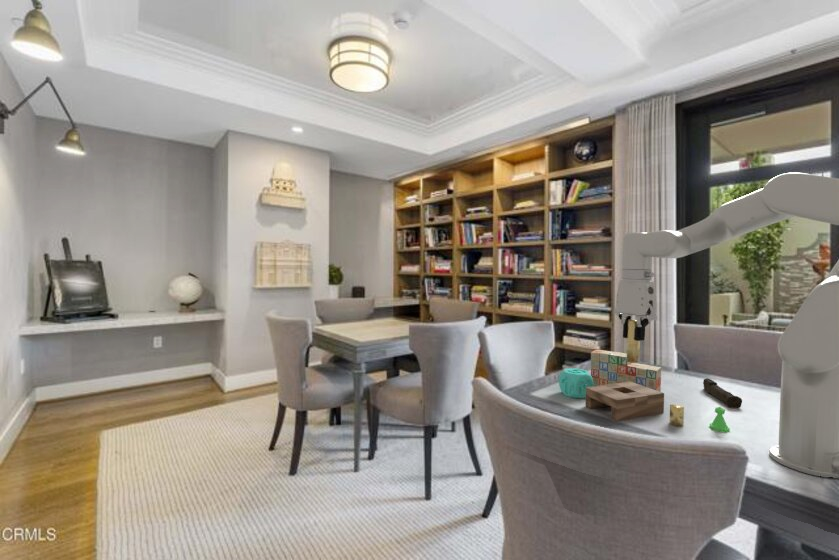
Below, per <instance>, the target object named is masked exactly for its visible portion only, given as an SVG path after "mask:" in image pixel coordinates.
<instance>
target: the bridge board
mask: <svg viewBox="0 0 839 560" xmlns="http://www.w3.org/2000/svg"><path fill="white" fill-rule="evenodd" d="M585 407H586V408H587V409H590V410H591V409H597V408H603V407H611V408H610V409H611V410H610V411H611V414H610V419H611V418H612V419H611V420H613V419H614V421H615V420H616V421H615V422H620V421H619V420H621V421H626V420H631V419H636V418H638V419H639V418H643V417H647V416H648V417H649V416H654V415H659V414H664V413H665V392H662V391H661V392H660V391H657V390H654V389H651V388H648V387H645V386H642V385H639V384H636V383H633V382H622V383H615V384H607V385H600V386H597V385H594V386H592V387H586V398H585Z"/></svg>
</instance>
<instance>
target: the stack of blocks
mask: <svg viewBox="0 0 839 560" xmlns="http://www.w3.org/2000/svg"><path fill="white" fill-rule="evenodd" d="M626 357H627V352H626V353H625V352H621V351H620V352H619V351H611V350H610V351H609V350H604V349H603V350H602V349H595V350H593V351H591V352H590V375H591V377H592V379H593V382H594V386H600V385H607V384H615V383H622V382H633V383H636V384H639V385H642V386H645V387H648V388H651V389H654V390H657V391H660V392H662V391H661V390H662V388H661V385H662V383H661V382H662V367H661V366H655V365H650V364H649V365H648V364H642V363H631V362H627V361H626Z"/></svg>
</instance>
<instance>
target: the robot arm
mask: <svg viewBox="0 0 839 560" xmlns="http://www.w3.org/2000/svg"><path fill="white" fill-rule="evenodd" d="M794 217H797V218H798V217H799V218H801V219H808V220H812V221H816V222H821V223H826V224H831V225H835V226H839V178H836V177H829V176H822V175H816V174H811V173H810V174H809V173H804V172H787V173H782V174H779V175H777V176H775V177H773V178H771V179H770V180H768V181H767V183H766V184H765V185H764V186H763V188H760V189H758V190H755V191H753V192H751V193H749V194H746V195H743V196H741V197H739V198H736V199H734V200H731V201H729V202H726V203H724V204H722V205H720V206H718V207H716V209H714V211H713V212H712V213H711V214H710V215H708V216H706V218H704V219H702V220H699V221H698V222H696V223H693V224H691V225H688V226H686V227H682V228H680V229H677V230H669V229H664V230H663V229H662V230H657V231H649V232H646V231H645V232H644V231H640V232H639V231H638V232H636V231H634V232H627V233H624V235H623V237H622V247H621V249H622V251H621V253H622V254H621V271H620V272H621V274H620V276H621V277H620V278H621V279H619V282H618V286H617V292H616V299H615V302H616V303H615V306H616V307H615V309H614V311H613V314H615V316H617V317H618V318H619V320H620V323H621V324H622V327H623V328H622V329H623V330H622V338H623V339H627V332H628V320H633V316H635V317H636V319H635V320H637V327H635V337H634V339H635V341H641V342H642V341H645V337H646V327H648V325H649V324H650V323H651V322H654V321H656V320H657V319H658V315H657V310H658V309H657V292H656V291H657V290H656V285H655V281H653V280H652V278H654V277H655V273H654V272H653V271H652V269H653V267H652V266H653V258H657V259H679V258H683V257H686V256H688V255H689V256H690V255H691V254H692V255H693V254H695V253H698V252H701V251H703V250H706V249H709V248H711V247H714V246H716V245H719V244H722V243H725V242H728V241H731V240H733V239H735V238H737V237H740V236H742V235H746V234H748V233H751V232H754V231H757V230H759V229H763V228H766V227H768V226H771V225H773V224H776V223H779V222H783V221H785V220H788V219H791V218H794ZM777 351H778V354H779V356H780V358H781V360H782V361H781V376H780V377H781V378H780V380H781V381H780V395H779V396H780V397H779V423H778V426H779V427H778V445H773V446H771V447H769V449H768V452H769V456H770V458H772V459H773V460H774V461H776V462H778V463H779V464H781V465H782V466H785V467H787V468H789V469H792V470H795V471H797V472H800V473H805V474H808V475H811V476H815V477H820V476H821V478H827V477H833V478H832V479H839V259H838V260H837V262H836V263H835V264H834V265H833V267H832V269H831V270H830V272H829V273H828V274H827V276H826V277H825V279H823V280H822V282H821V281H820V283H819V284H817V285H815V287H814V288H813V289H812V290H811V291H810V292H809V294H808V296H807V297H806V298H805V300H804V301H803V303H802V304H801V306H800V307H799V309H798V310H797V311H796V313H795V315H794V316H793V317H792V319H791V321H790V322H789V324H788V325H787V327H786V328H785V330H784V331H783V332H782V333H781V335H780V337H779V338H778V341H777Z"/></svg>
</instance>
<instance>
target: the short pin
mask: <svg viewBox="0 0 839 560" xmlns="http://www.w3.org/2000/svg"><path fill="white" fill-rule="evenodd" d="M684 415H685V407H684V406H683V405H680V404H676V403H675V404H674V403H672V404H670V405H669V424H670V425H672V426H675V427H684V423H685V421H684V419H685V418H684V417H685V416H684Z"/></svg>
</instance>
